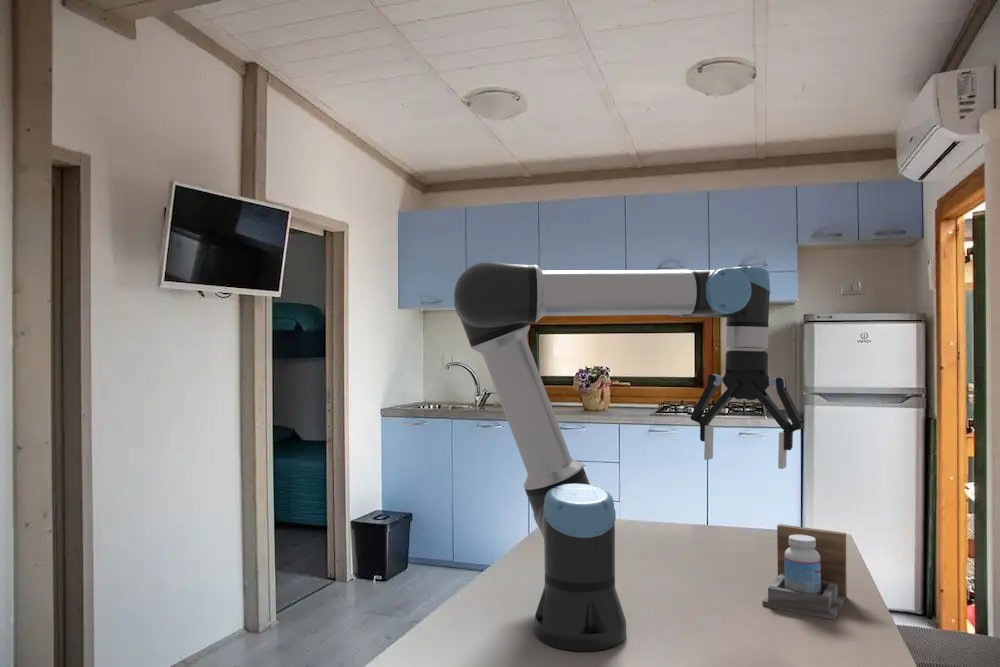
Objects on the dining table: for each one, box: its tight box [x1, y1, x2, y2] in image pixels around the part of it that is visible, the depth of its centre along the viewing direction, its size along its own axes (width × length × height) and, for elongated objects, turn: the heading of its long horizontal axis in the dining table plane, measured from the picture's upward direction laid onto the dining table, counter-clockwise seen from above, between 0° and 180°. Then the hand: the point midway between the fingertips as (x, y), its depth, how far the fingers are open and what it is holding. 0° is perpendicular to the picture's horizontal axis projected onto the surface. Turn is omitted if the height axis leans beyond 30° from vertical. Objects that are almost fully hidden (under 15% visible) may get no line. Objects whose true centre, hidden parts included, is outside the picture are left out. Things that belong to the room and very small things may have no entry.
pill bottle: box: [785, 535, 821, 595], centre depth 131 cm, size 6×6×11 cm
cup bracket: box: [762, 523, 848, 621], centre depth 132 cm, size 13×12×12 cm
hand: (744, 463), depth 133 cm, fingers open, 13 cm apart
